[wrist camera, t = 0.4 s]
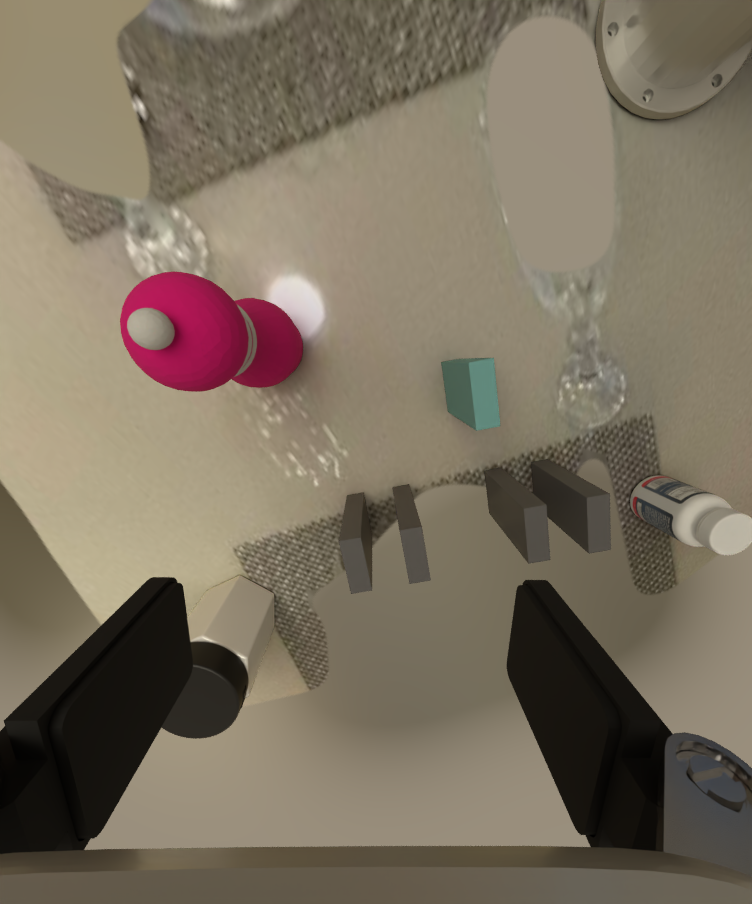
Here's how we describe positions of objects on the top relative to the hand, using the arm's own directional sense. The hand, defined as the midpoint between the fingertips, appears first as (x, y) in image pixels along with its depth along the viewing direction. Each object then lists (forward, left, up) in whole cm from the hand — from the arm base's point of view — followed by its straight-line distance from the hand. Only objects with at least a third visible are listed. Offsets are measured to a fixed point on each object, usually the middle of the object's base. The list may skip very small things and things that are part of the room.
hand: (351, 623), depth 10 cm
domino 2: (-3, +9, -27) cm, 29 cm away
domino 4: (-13, +9, -27) cm, 31 cm away
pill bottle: (-30, +13, -28) cm, 42 cm away
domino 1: (+2, +9, -27) cm, 29 cm away
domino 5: (-18, +9, -27) cm, 34 cm away
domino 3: (-10, -3, -27) cm, 29 cm away
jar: (+18, +18, -28) cm, 38 cm away
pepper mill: (+7, -10, -28) cm, 30 cm away
